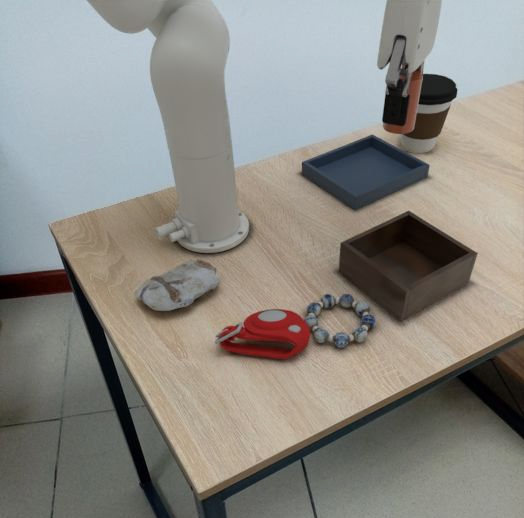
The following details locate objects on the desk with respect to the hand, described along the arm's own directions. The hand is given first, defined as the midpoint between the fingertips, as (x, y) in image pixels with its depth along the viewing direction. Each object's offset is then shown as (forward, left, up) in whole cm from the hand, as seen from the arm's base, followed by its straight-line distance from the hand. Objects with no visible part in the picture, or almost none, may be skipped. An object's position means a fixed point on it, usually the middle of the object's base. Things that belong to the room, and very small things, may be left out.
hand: (399, 114), depth 74 cm
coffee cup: (+25, +17, -19) cm, 36 cm away
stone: (-35, +6, -19) cm, 41 cm away
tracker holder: (-30, -9, -19) cm, 37 cm away
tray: (+9, +15, -19) cm, 26 cm away
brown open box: (-6, -11, -19) cm, 23 cm away
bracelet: (-20, -13, -19) cm, 31 cm away
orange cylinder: (0, 0, -2) cm, 2 cm away
